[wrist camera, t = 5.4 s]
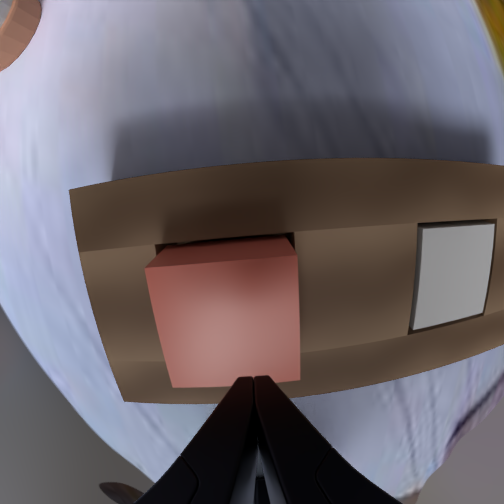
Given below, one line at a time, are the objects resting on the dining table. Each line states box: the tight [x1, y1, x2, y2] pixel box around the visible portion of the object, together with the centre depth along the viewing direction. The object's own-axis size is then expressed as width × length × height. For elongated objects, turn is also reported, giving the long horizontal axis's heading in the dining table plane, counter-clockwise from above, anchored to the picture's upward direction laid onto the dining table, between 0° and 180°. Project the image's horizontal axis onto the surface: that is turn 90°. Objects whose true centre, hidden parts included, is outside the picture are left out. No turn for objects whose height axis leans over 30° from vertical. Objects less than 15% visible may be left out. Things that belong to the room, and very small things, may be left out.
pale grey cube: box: [409, 219, 495, 330], centre depth 15 cm, size 5×5×4 cm
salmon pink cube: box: [144, 235, 300, 388], centre depth 13 cm, size 5×5×4 cm
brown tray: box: [69, 158, 504, 404], centre depth 16 cm, size 12×26×5 cm, turn 95°
